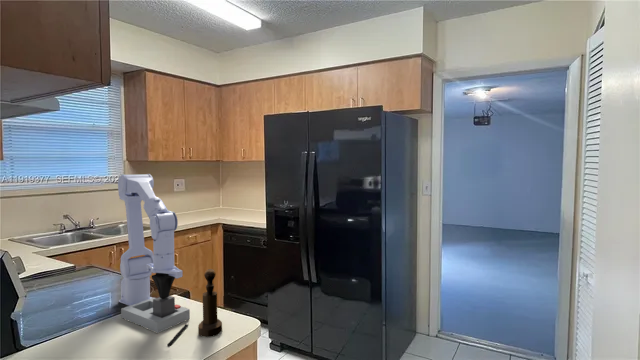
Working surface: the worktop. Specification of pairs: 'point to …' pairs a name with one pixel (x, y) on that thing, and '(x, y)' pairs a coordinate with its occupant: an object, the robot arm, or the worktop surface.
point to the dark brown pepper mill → (210, 309)
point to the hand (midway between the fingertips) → (164, 297)
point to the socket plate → (153, 316)
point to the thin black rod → (177, 335)
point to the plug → (163, 306)
